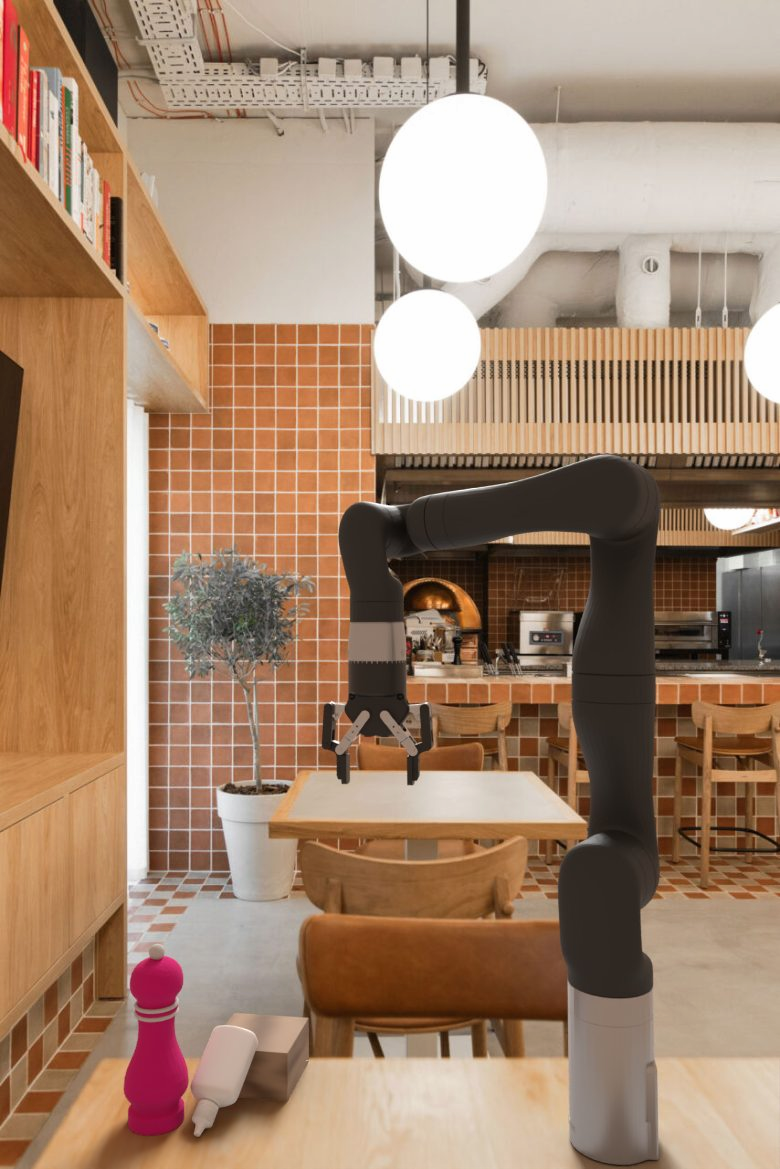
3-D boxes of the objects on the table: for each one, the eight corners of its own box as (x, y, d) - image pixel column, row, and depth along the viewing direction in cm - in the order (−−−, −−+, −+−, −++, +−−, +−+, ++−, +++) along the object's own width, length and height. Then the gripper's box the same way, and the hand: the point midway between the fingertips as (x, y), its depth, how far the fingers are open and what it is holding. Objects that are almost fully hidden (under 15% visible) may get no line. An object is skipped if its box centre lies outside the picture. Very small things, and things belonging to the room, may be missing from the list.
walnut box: (308, 1065, 120) (308, 1017, 121) (287, 1104, 111) (287, 1053, 111) (234, 1059, 122) (234, 1012, 122) (207, 1098, 112) (207, 1047, 112)
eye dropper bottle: (253, 1050, 114) (215, 1152, 104) (211, 1031, 114) (169, 1132, 104) (262, 1035, 111) (224, 1138, 102) (220, 1015, 111) (177, 1117, 102)
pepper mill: (172, 1142, 102) (173, 957, 103) (111, 1135, 104) (112, 953, 104) (198, 1108, 109) (198, 935, 110) (141, 1102, 111) (141, 931, 112)
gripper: (435, 656, 123) (436, 780, 122) (329, 656, 125) (330, 778, 125) (428, 658, 116) (429, 790, 115) (316, 658, 118) (317, 788, 117)
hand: (377, 783), depth 120 cm, fingers open, 8 cm apart
